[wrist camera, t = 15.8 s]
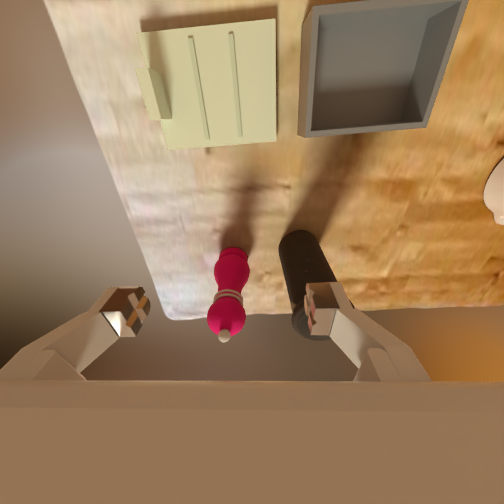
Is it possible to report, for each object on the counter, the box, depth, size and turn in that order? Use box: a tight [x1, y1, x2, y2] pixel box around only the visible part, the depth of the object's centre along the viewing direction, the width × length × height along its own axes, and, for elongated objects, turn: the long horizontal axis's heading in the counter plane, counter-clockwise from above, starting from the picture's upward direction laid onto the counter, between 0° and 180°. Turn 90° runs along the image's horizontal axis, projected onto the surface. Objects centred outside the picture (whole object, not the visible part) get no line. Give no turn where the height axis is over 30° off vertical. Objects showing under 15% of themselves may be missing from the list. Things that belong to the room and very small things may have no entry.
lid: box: [135, 19, 276, 150], centre depth 27 cm, size 17×13×6 cm
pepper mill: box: [207, 247, 250, 342], centre depth 37 cm, size 7×7×20 cm
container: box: [279, 230, 355, 340], centre depth 36 cm, size 9×9×20 cm
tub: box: [297, 0, 469, 138], centre depth 27 cm, size 16×12×6 cm
